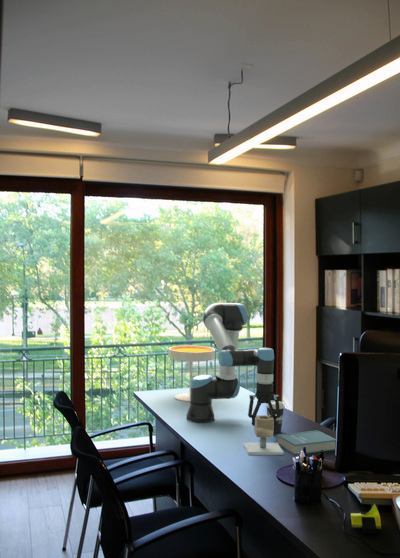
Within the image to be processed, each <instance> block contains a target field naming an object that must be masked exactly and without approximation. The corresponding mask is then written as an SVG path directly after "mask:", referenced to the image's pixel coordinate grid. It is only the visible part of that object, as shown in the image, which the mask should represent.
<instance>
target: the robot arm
mask: <svg viewBox="0 0 400 558" xmlns="http://www.w3.org/2000/svg"><path fill="white" fill-rule="evenodd" d="M248 319H249V317H248V312H247V307H246V306H245V305H244V304H243V303H237V302H234V303H233V302H229V303H228V302H226V303H225V302H224V303H223V302H221V303H220V302H216V303H211V304H210V305H209V306H207V308H206V309H205V311H203V316H202V321H203V325H204V328H206V329H208V330H209V332H210V335H211V336H212V339H213V341H214V343H215V345H216V347H217V349H218V351H219V352H218V355H217V361H218V364H219V367H218V368H219V369H218V371H217V372H216V374H215V377H213V375H211V374H198V375H196V376H194V377H193V376H192V379H191V386H190V385H189V388H190V387H191V394H190V402H189V407H188V410H187V414H186V420H187V421H189V422H193V423H210V422H213V421H215V413H214V412H215V411H214V409H213V406H212V405H213V404H212V403H213V402H212V401H213V400H224V399H225V400H229V399H235V398H237V396H238V395H239V393H240V389H241V383H240V379H239V377H238V374H236V367H256V386H255V387H256V390H255V393H254V394H249V405H248V413H247V416H248V418H250V419H251V426H253V433H254V434H255V435H256V433H257V419H256V415H258V412H259V410H260V407H261V405H262V404H267V403H268V405H269V408H270V411H271V414H272V417H273V418H272V419H273V429H274V426H276V419H277V418H280V409H279V401H280V398H281V397H280V395H279V394H274V383H273V382H274V365H275V353H274V349H273V348H270V347H259V348H250V349H238V348H239V347H238V345H239V336H240V332H241V331H243V326H245V325H247V323H248ZM255 399H256V400H257V402H256V404H255V407H254V400H255ZM273 400H274V401H275V405H276V415H275V413H274V410H273V407H272V404H271V401H273Z"/></svg>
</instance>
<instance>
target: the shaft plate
mask: <svg viewBox="0 0 400 558" xmlns="http://www.w3.org/2000/svg"><path fill="white" fill-rule="evenodd" d="M242 444H243V448H244V450H245V452H246V454H247V455H248V456H279V455H280V456H283V455H285V454H284V450H283V449H282V447H281V446H279V444H278V443H276V442H267V437H259V442H243V443H242Z"/></svg>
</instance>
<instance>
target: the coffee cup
mask: <svg viewBox="0 0 400 558" xmlns="http://www.w3.org/2000/svg"><path fill="white" fill-rule="evenodd" d="M265 404H266V405H265V408H266V415H271V417H272V414H271V411H270V408H269V405H268V403H265ZM271 404H272V407H273V410H274V413H275V415H276V405H275V400H271ZM285 407H286V406H285V405H284V402H283V401H280V400H279V409H280V418H277V419H276V426H274V429H273V435H279V434H281V433H282V426H283V417H284V410H285ZM272 418H273V417H272Z"/></svg>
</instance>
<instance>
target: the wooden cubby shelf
mask: <svg viewBox="0 0 400 558" xmlns="http://www.w3.org/2000/svg"><path fill="white" fill-rule="evenodd" d="M256 419H257V433H256V434H255V436H256V438H260V437H266V438H273V437H274V434H273V419H272V417H271V415H267V414H266V415H261V414H260V415H259V414H257V415H256Z"/></svg>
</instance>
